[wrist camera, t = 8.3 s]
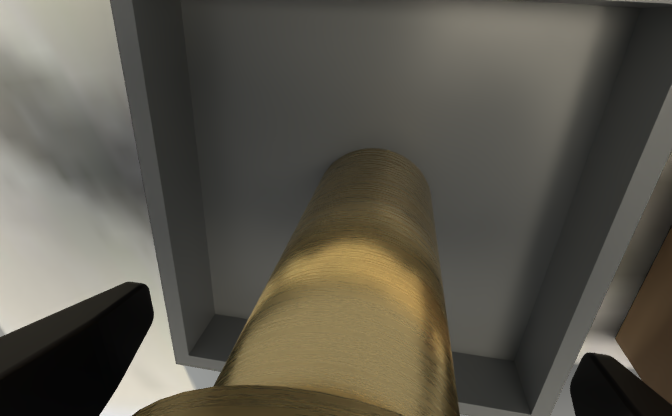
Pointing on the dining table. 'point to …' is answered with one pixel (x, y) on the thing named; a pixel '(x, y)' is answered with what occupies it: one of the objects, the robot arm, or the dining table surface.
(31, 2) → the dining table surface
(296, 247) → the brass pin
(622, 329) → the walnut block
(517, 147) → the charcoal tray
